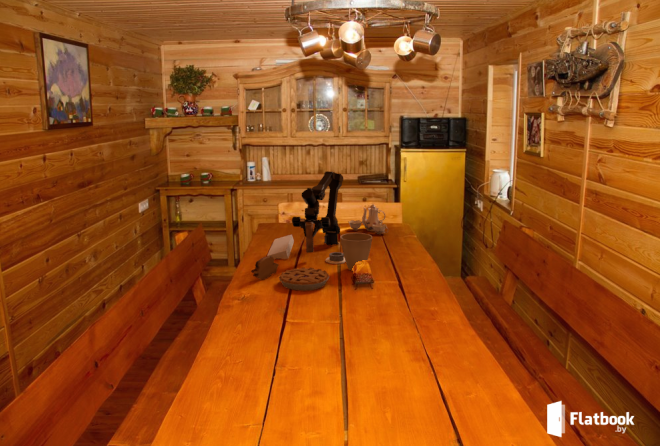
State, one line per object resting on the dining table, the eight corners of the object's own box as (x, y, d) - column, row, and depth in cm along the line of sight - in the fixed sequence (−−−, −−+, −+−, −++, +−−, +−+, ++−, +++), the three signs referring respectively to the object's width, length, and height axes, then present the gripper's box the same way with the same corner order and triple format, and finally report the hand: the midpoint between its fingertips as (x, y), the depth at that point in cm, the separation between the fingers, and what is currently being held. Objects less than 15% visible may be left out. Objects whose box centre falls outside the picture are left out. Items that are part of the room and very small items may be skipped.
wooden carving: (271, 272, 262) (270, 251, 260) (279, 273, 260) (279, 253, 258) (249, 282, 248) (248, 260, 246) (257, 283, 246) (257, 261, 244)
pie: (293, 273, 260) (292, 263, 259) (336, 279, 252) (336, 268, 251) (270, 288, 241) (270, 277, 240) (316, 295, 232) (316, 283, 231)
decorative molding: (269, 264, 285) (288, 259, 284) (267, 255, 284) (285, 250, 283) (277, 247, 318) (294, 242, 317) (274, 239, 317) (291, 234, 316)
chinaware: (344, 233, 344) (342, 207, 339) (357, 225, 357) (356, 200, 352) (385, 239, 329) (384, 211, 324) (397, 230, 343) (396, 204, 338)
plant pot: (334, 268, 267) (334, 236, 264) (358, 262, 276) (358, 231, 273) (354, 276, 256) (354, 242, 252) (378, 270, 265) (378, 237, 261)
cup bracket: (327, 257, 286) (327, 250, 285) (348, 258, 285) (348, 251, 284) (324, 263, 275) (324, 256, 275) (346, 264, 274) (346, 257, 273)
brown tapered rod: (311, 250, 281) (311, 221, 278) (314, 252, 278) (314, 222, 275) (305, 251, 280) (304, 221, 277) (307, 253, 277) (307, 223, 273)
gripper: (292, 200, 279) (287, 227, 270) (329, 201, 276) (326, 228, 268) (295, 213, 288) (291, 239, 280) (331, 213, 285) (328, 240, 277)
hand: (309, 236), depth 276 cm, fingers closed on brown tapered rod, 4 cm apart
